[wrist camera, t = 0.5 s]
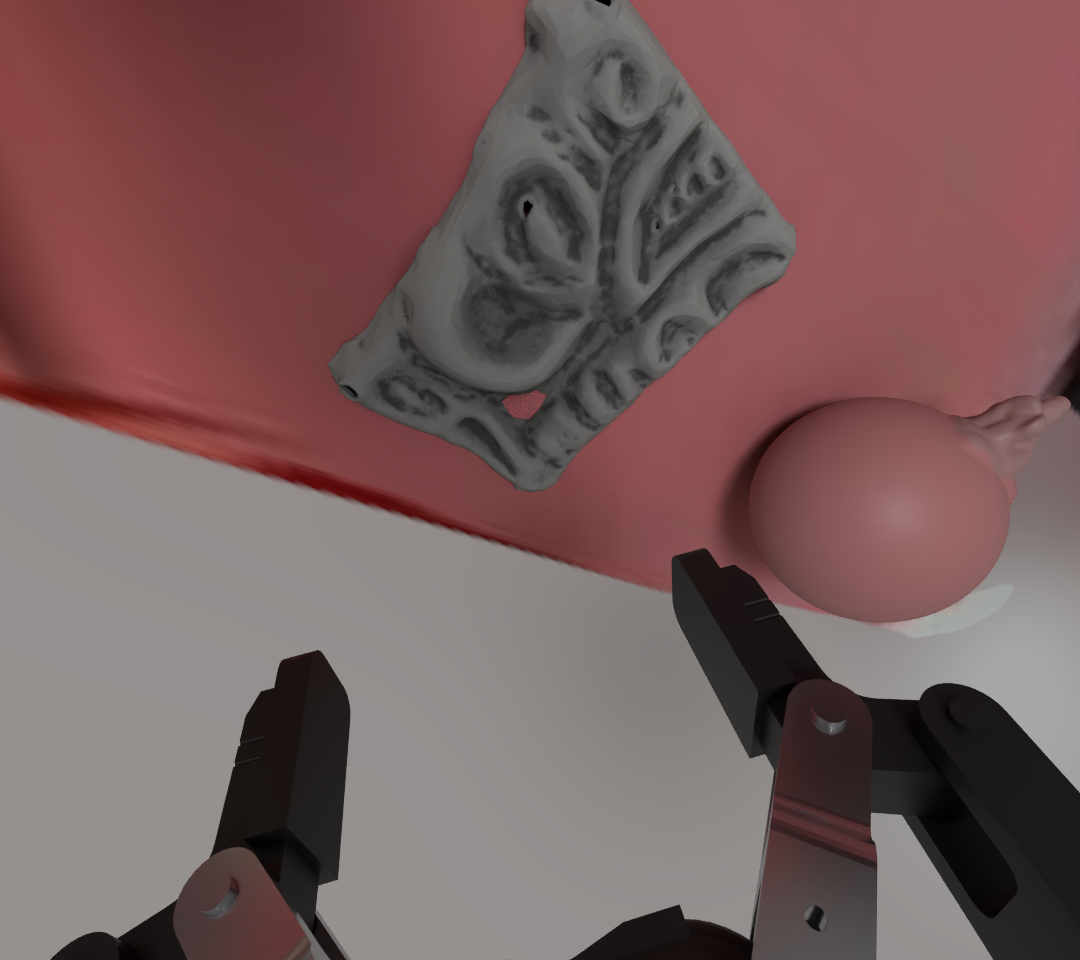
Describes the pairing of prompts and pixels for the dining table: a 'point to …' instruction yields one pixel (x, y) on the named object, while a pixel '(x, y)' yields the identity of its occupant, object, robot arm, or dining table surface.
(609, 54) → the wall plaque
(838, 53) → the dining table surface
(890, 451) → the balloon
